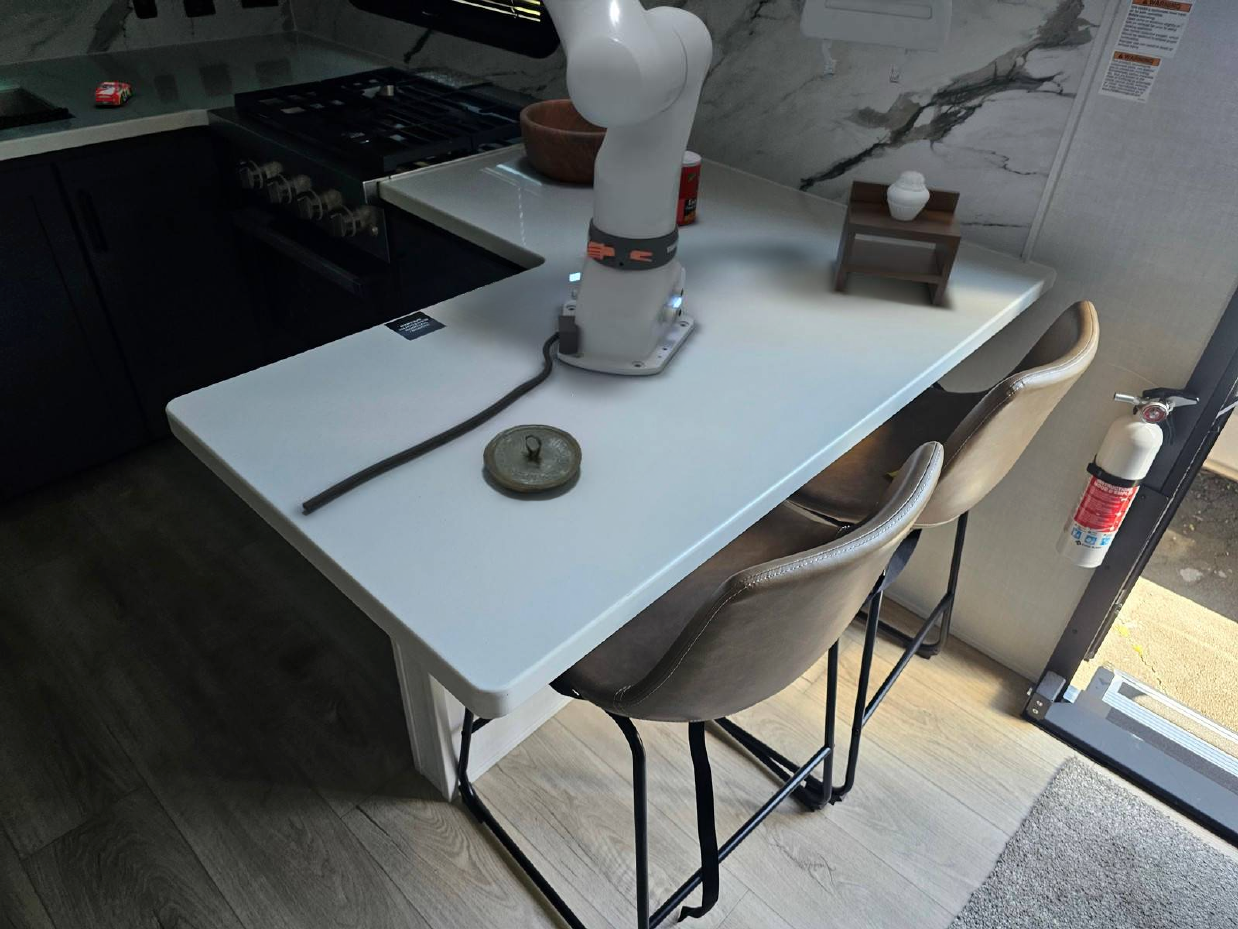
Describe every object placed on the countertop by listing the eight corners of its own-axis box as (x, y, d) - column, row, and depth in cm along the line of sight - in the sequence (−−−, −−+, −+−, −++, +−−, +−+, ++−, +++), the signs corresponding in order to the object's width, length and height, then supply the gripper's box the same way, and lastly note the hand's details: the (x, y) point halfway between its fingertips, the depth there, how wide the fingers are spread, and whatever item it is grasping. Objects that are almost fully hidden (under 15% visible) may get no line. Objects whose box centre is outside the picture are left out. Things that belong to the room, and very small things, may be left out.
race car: (111, 93, 198) (105, 74, 195) (136, 93, 199) (131, 75, 196) (93, 108, 187) (87, 89, 185) (119, 108, 188) (114, 89, 186)
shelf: (940, 305, 130) (967, 216, 121) (834, 291, 132) (854, 202, 124) (934, 276, 138) (959, 191, 130) (835, 263, 141) (853, 178, 132)
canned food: (692, 228, 150) (698, 165, 143) (647, 222, 151) (652, 159, 144) (697, 212, 156) (704, 151, 149) (654, 207, 157) (659, 146, 150)
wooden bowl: (601, 198, 159) (603, 142, 153) (495, 169, 169) (493, 115, 163) (665, 165, 176) (670, 113, 170) (566, 141, 186) (567, 91, 180)
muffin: (873, 215, 128) (884, 168, 124) (894, 206, 132) (905, 160, 128) (910, 227, 125) (923, 180, 121) (930, 218, 128) (943, 171, 124)
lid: (561, 445, 98) (555, 405, 96) (600, 475, 90) (594, 431, 88) (475, 472, 94) (467, 431, 92) (507, 505, 86) (499, 461, 84)
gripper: (807, -39, 113) (788, 73, 121) (966, -22, 110) (934, 91, 118) (810, -44, 118) (791, 64, 126) (961, -28, 115) (931, 81, 123)
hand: (861, 77), depth 122 cm, fingers open, 8 cm apart
